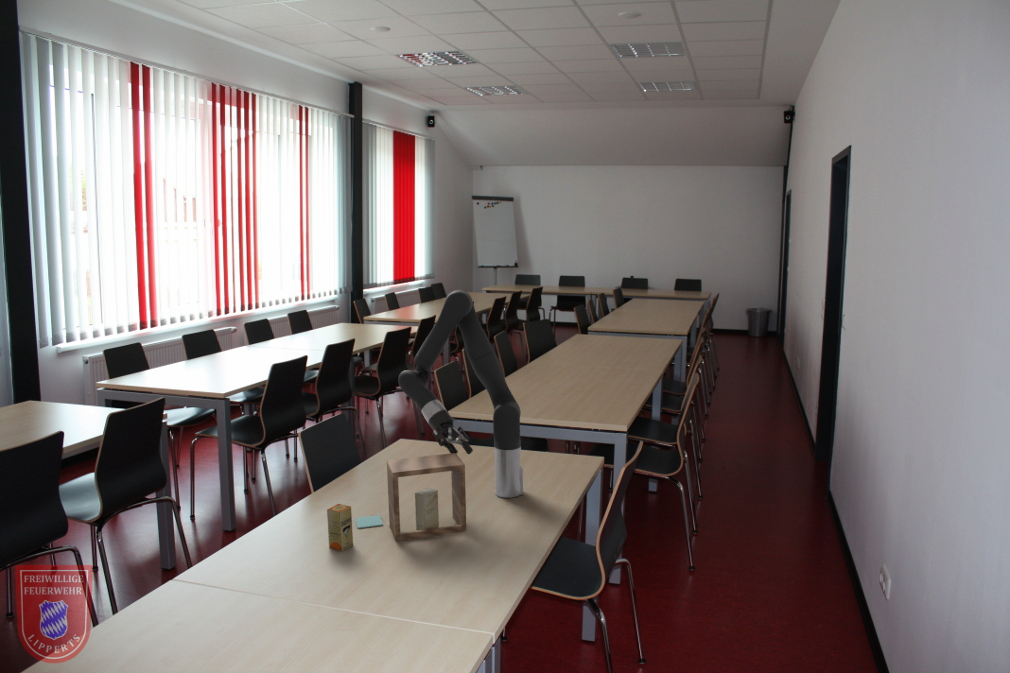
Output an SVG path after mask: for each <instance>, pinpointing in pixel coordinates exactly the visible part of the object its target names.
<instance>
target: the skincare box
mask: <svg viewBox="0 0 1010 673" xmlns="http://www.w3.org/2000/svg"><path fill="white" fill-rule="evenodd" d="M438 493H439V492H438V489H434V488H431V487H427V488H424V489H422V490H419V491H417V492H415V493H414V499H415V502H414V503H415V505H414V506H415V527H416V528H415V531H417V530H424V529H431V528H439V527H440V523H439V522H440V521H439V518H440V517H439V496H438V495H439V494H438Z"/></svg>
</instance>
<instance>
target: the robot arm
mask: <svg viewBox="0 0 1010 673" xmlns="http://www.w3.org/2000/svg"><path fill="white" fill-rule="evenodd" d="M457 326H458V328H459V331H460V333H461V337H462V341H463V345H464V349H465V352H466V355H467V358H468V360H469V363H470V365H471V367H472V369H473V371H474V374H475V376H476V377H477V378H478V380H479V381H480V383H481V384H482V385H483V387H484V388H485V390H486V391H487V393H488V395H489V398H490V402H491V403H492V407H493V415H492V430H493V432H492V433H493V441H494V442H493V443H494V444H493V446H494V448H493V449H494V484H495V485H494V491H495V492H494V494H495V495H496V496H497V497H499V498H508V499H510V498H511V499H512V498H515V497H520V496H521V495H524V471H523V470H524V469H523V467H522V454H521V453H522V446H521V445H522V444H521V443H522V442H521V441H522V439H521V414H522V412H521V407H520V405H519V404H518V403H517V402H518V401H517V400H516V398H515V397H514V396H513V394H512V391H511V389H510V388H509V386H508V384H507V381H506V378H505V375H504V371H503V369H502V366H501V364H500V362H499V359H498V356H497V354H496V352H495V350H494V347H493V346H492V344H491V342H490V339H489V338H488V336H487V334H486V332H485V330H484V329H483V327H482V325H481V322H480V320H479V317H478V314H477V312H476V309H475V305H474V302H473V298H472V296H471V295H470V294H469V293H468V292H467V291H466V290H463V289H455V290H453V291H451V292H450V293H449V294H448V295H447V296H446V297H445V299H444V303H443V306H442V309H441V312H440V314H439V316H438V318H437V320H436V322H435V324H434V325H433V328H432V329H431V331H430V332H429V333H428V335H427V337H425V340H424V341H423V342H422V345H420V348H419V349H418V351H417V353H416V355H415V356H414V359H413V361H414V364H415V365H416V366H415V368H414V370H409V369H407V370H406V369H404V370H403V371H401V372H400V373H399V374H398V377H397V378H398V379H397V381H398V385H399V387H400V389H401V390H402V392H403V393H404V394H405V395H406V396H407V397H408V398H409V399H411V400H412V401H413V403H415V404H416V406H417V408H418V409H419V411H420V412H421V414H422V415H423V417H424V419H425V421H426V422H427V424H428V425H429V427H430V428H431V429H432V435H433V437H434V439H435V440H436V441H437V443H438V445H439V446H440V447H445V448H446V449H447V450H448V451H449V454H451V453H456V454H457V455H458V453H459V452H458V450H457V448H456V447H455V445H454V443H456V444H459V445H460V446H462V448H463V450H464V451H465V452H466V454H467V455H470V454H472V452H474V449H473V448H472V446H471V445H470V444H469V441H470V440H471V438H470V437H469V435H468V434H467V433H466V432H465V429H463V428H462V427H461V426H458V427H457V428H456V427H455V426H454V419H453V416H452V415H451V414H450V412H448V410H447V409H446V407H445V405H443V403H442V402H441V401H440V400H439V398H438V397H437V396H436V395H435V393H434V392H433V391H432V390H431V389H430V388H427V387H426V385H427V384H428V383H429V382H428V381H429V380H430V377H431V373H432V370H433V367H434V365H435V364H436V361H437V360H438V359H439V357H440V355H441V353H442V351H443V350H444V348H445V346H446V344H447V341H448V339H449V337H451V335H452V333H453V331H454V330H455V329H456V327H457ZM452 442H454V443H452Z"/></svg>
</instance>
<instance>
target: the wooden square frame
mask: <svg viewBox="0 0 1010 673" xmlns="http://www.w3.org/2000/svg"><path fill="white" fill-rule="evenodd" d="M386 470H387V472H386V474H387V477H386V478H387V495H388V496H387V497H388V519H389V520H388V523H389V528H390V530H391V534H392V536H393V539H394V542H400V541H406V540H407V541H408V540H414V539H422V538H427V537H434V536H435V537H436V536H442V535H448V534H454V533H462V532H467V503H466V502H467V499H466V496H467V495H466V493H467V492H466V465H465V462H464V461H463V460H462V459H461V458H460V457H459V455H458V453H457V454H456V453H444V454H434V455H425V456H415V457H407V458H399V459H398V458H397V459H389V460H386ZM445 472H446V473H447V472H451V474H450V475H451V502H452V504H451V506H452V508H451V509H452V519H453V520H454V521H455V523H456V524H454V525H447V526H439V527H438V528H431V529H424V530H411V531H406V532H405V531H404V532H401V517H400V516H401V514H400V494H399V492H400V490H399V478H404V477H405V478H406V477H412V476H420V475H427V474H428V475H430V474H436V473H437V474H439V473H445Z"/></svg>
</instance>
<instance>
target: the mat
mask: <svg viewBox="0 0 1010 673" xmlns="http://www.w3.org/2000/svg"><path fill="white" fill-rule="evenodd" d="M354 520H355V524H357V525H356V527H357V530H359V529H366V528H375V527H382V526H384V523H383V520H382V517H381V515H380V514H377V515H370V516H369V515H368V516H362V517H355V518H354Z"/></svg>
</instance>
